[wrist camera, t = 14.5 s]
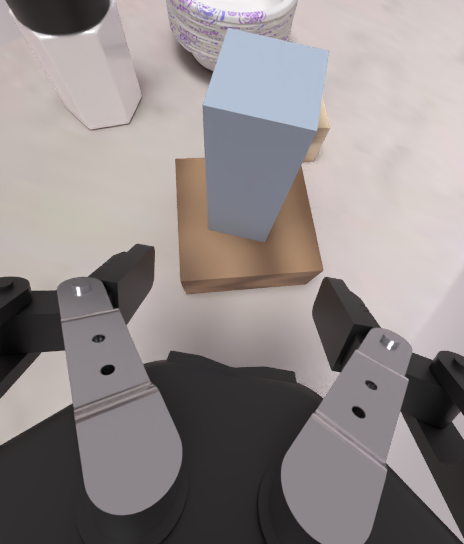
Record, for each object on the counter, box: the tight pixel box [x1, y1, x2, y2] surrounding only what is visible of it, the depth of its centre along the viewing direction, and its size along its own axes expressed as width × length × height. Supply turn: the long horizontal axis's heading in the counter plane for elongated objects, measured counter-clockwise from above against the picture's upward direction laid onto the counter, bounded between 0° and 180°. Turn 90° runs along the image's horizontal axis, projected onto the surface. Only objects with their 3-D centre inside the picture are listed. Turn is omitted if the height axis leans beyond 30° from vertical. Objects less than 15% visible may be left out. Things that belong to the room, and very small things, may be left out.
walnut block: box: [175, 158, 323, 294], centre depth 26 cm, size 12×12×5 cm
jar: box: [6, 0, 142, 130], centre depth 26 cm, size 9×8×12 cm
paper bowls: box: [166, 0, 297, 72], centre depth 32 cm, size 15×15×8 cm
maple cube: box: [303, 96, 330, 162], centre depth 29 cm, size 5×5×5 cm
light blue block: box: [203, 28, 329, 242], centre depth 18 cm, size 5×5×12 cm
